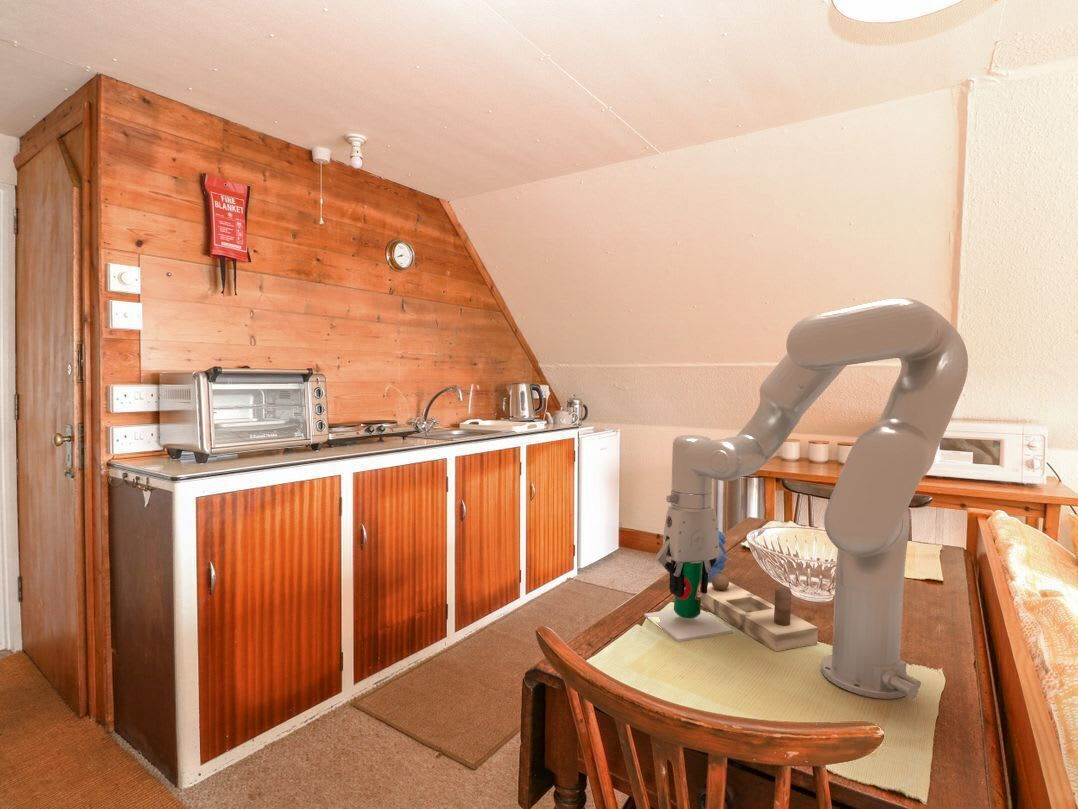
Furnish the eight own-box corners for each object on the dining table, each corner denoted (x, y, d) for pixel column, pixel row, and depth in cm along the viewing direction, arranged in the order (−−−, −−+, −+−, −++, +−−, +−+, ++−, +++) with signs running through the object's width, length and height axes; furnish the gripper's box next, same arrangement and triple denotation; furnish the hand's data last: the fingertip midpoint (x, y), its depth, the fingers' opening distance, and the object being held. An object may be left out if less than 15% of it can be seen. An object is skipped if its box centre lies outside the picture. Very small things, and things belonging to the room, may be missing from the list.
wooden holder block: (817, 643, 108) (819, 595, 108) (776, 651, 105) (778, 601, 105) (726, 593, 132) (727, 553, 132) (690, 598, 129) (691, 557, 129)
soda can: (701, 620, 113) (704, 559, 112) (674, 618, 114) (677, 556, 113) (699, 609, 118) (702, 550, 117) (673, 607, 119) (676, 548, 118)
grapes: (701, 572, 146) (702, 524, 146) (729, 576, 143) (731, 527, 143) (692, 587, 136) (693, 535, 135) (723, 592, 133) (724, 539, 132)
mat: (732, 632, 113) (732, 630, 112) (678, 641, 108) (678, 639, 108) (694, 608, 124) (694, 606, 124) (644, 616, 119) (644, 613, 119)
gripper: (663, 507, 108) (661, 605, 109) (740, 501, 114) (737, 594, 115) (642, 498, 115) (640, 591, 116) (715, 493, 121) (713, 581, 122)
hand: (688, 591), depth 116 cm, fingers closed on soda can, 5 cm apart
